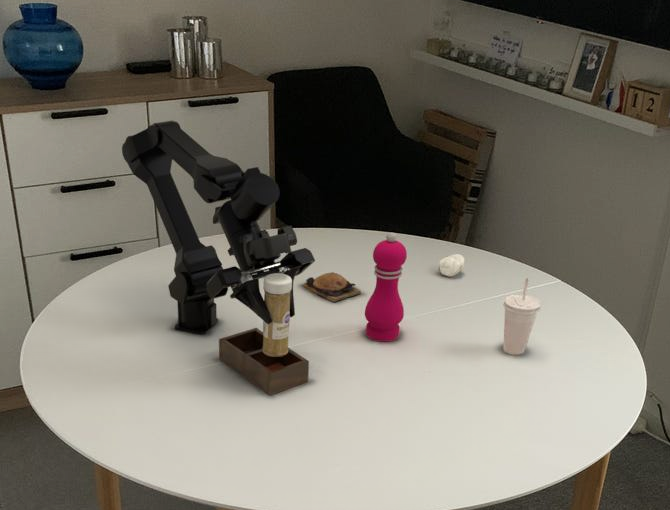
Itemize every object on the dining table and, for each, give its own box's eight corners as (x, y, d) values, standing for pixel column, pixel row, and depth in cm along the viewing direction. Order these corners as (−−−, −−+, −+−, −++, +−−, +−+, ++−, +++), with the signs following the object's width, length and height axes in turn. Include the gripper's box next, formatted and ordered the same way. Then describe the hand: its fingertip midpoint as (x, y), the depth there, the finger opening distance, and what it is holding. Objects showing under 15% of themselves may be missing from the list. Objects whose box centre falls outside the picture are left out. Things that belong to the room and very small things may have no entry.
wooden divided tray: (219, 359, 158) (218, 339, 156) (256, 347, 162) (256, 327, 160) (270, 395, 147) (270, 374, 145) (308, 381, 151) (309, 360, 149)
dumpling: (468, 278, 191) (468, 263, 188) (445, 284, 191) (445, 268, 188) (456, 261, 196) (457, 246, 193) (434, 266, 196) (434, 251, 193)
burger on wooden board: (363, 294, 183) (365, 278, 181) (331, 303, 179) (333, 287, 177) (331, 277, 190) (332, 261, 188) (299, 285, 186) (300, 269, 184)
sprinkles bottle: (284, 359, 147) (287, 285, 140) (258, 355, 148) (260, 281, 141) (291, 347, 151) (295, 274, 143) (266, 343, 152) (268, 270, 145)
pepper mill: (400, 344, 163) (411, 241, 153) (361, 340, 165) (369, 238, 154) (402, 327, 169) (413, 227, 159) (364, 324, 171) (373, 224, 160)
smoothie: (534, 346, 163) (548, 275, 156) (528, 361, 158) (542, 288, 151) (499, 339, 166) (511, 269, 158) (492, 353, 161) (504, 282, 153)
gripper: (215, 222, 135) (255, 315, 133) (311, 200, 144) (350, 286, 143) (189, 254, 144) (226, 341, 143) (280, 232, 154) (316, 313, 152)
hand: (281, 319), depth 145 cm, fingers closed on sprinkles bottle, 4 cm apart
